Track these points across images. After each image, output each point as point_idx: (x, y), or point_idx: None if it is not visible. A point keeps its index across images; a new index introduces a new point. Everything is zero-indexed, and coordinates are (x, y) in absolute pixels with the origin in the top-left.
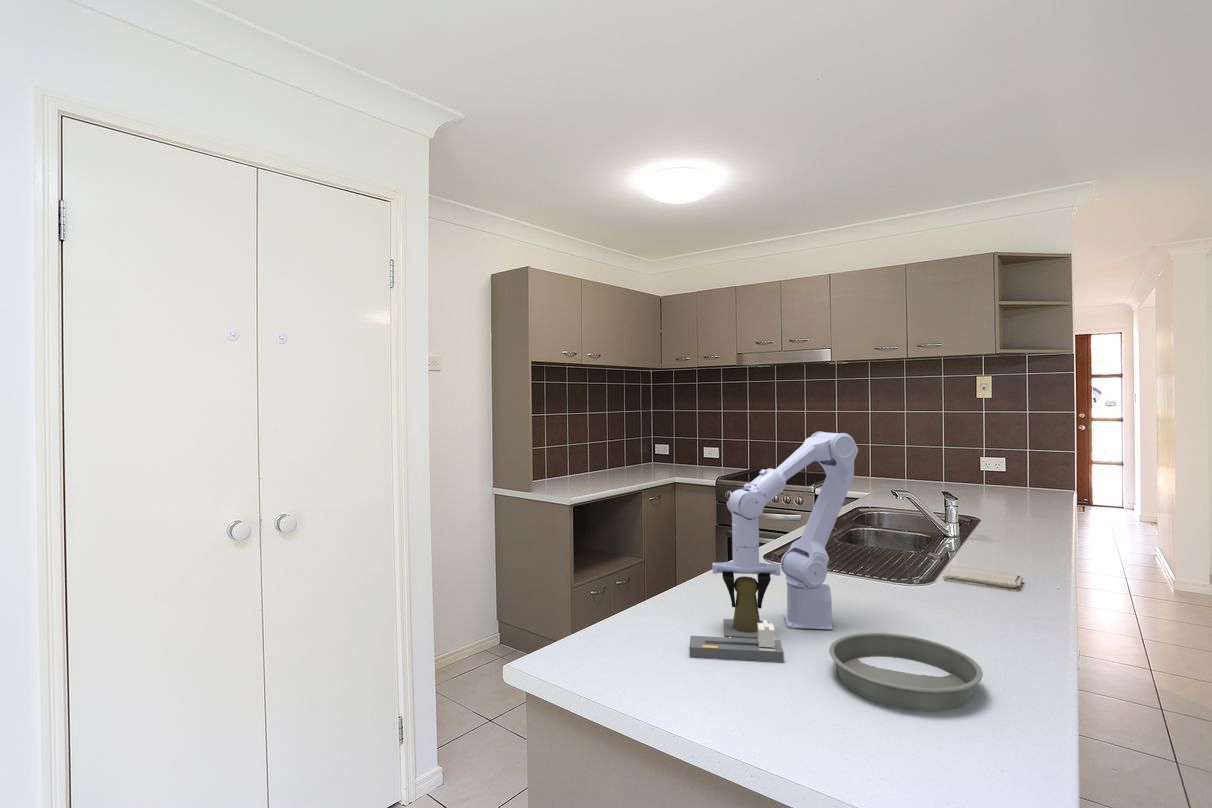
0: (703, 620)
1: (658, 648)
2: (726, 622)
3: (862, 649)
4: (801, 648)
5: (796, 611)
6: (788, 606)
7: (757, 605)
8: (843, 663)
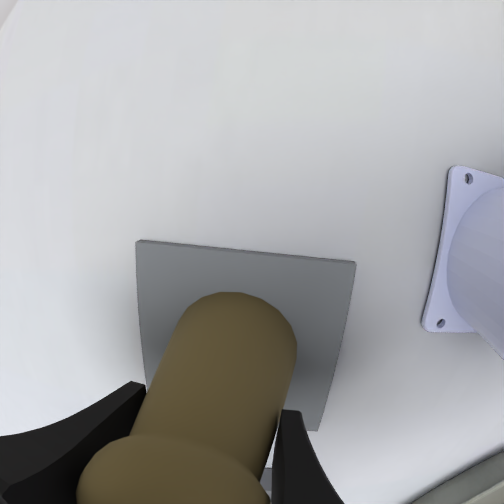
0: (71, 235)
1: (35, 413)
2: (148, 289)
3: (488, 470)
4: (381, 459)
5: (487, 341)
6: (482, 297)
7: (275, 432)
8: (424, 496)
